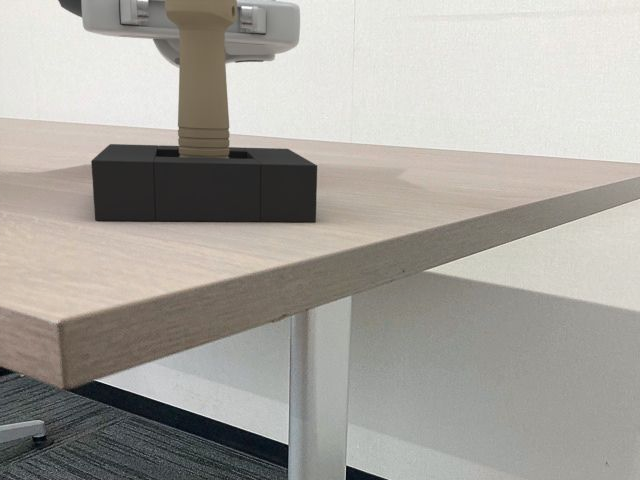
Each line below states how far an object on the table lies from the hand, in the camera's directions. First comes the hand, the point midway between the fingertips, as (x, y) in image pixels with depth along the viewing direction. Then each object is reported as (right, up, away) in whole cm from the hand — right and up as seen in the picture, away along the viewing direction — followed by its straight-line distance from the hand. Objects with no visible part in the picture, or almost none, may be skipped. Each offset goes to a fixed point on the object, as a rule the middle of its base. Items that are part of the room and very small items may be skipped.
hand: (195, 12), depth 67 cm
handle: (+2, -18, -6) cm, 19 cm away
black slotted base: (+2, -18, -6) cm, 19 cm away
